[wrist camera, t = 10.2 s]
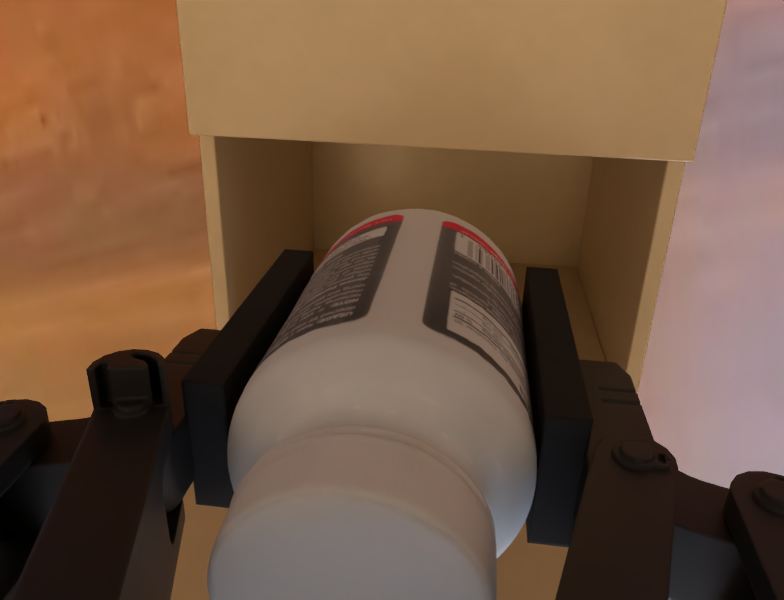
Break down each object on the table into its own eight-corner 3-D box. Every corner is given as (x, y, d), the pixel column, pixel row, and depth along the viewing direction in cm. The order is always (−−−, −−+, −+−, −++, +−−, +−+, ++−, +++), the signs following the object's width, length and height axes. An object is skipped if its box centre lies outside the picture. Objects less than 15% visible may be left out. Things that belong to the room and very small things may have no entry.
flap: (636, 427, 21) (633, 432, 22) (213, 386, 23) (216, 392, 23) (666, 737, 16) (662, 738, 17) (123, 659, 18) (128, 662, 18)
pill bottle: (323, 384, 19) (182, 717, 10) (310, 201, 17) (116, 428, 8) (516, 394, 19) (538, 759, 10) (528, 205, 16) (571, 456, 8)
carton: (584, 273, 34) (637, 431, 22) (307, 253, 35) (211, 390, 23) (648, -131, 26) (780, -232, 14) (296, -135, 28) (150, -229, 16)
